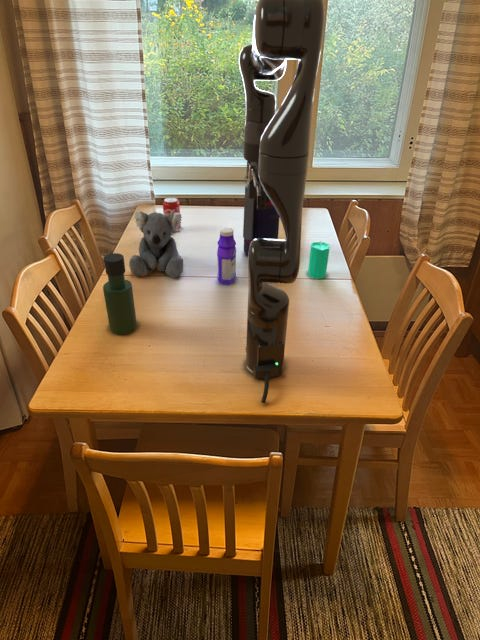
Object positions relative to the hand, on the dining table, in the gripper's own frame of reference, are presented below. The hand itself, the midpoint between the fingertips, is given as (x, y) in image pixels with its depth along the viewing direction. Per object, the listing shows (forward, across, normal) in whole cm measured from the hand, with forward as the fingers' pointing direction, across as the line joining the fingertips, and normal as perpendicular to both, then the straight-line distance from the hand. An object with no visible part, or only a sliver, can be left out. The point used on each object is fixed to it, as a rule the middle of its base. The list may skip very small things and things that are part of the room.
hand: (256, 203), depth 124 cm
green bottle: (+30, +6, -38) cm, 49 cm away
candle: (+30, -12, +25) cm, 41 cm away
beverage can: (+30, -58, -17) cm, 68 cm away
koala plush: (+30, -28, -25) cm, 48 cm away
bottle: (+30, -14, -5) cm, 34 cm away
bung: (+15, +6, -38) cm, 41 cm away
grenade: (+30, -30, +10) cm, 44 cm away
